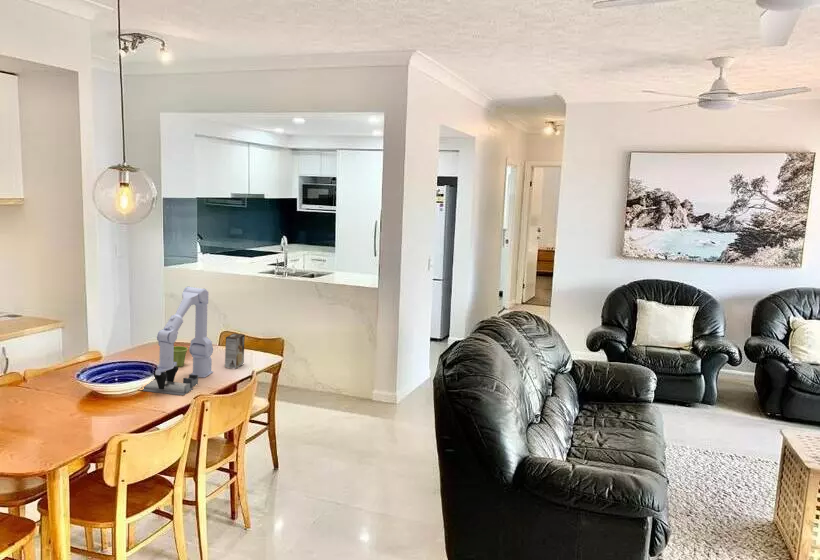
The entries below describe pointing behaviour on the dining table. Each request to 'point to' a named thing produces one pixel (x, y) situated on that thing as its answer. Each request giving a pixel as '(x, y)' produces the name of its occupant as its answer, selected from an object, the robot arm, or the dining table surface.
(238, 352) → the coffee box
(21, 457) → the dining table surface
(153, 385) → the rail
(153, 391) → the mat
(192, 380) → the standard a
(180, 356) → the plant pot
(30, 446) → the dining table surface
